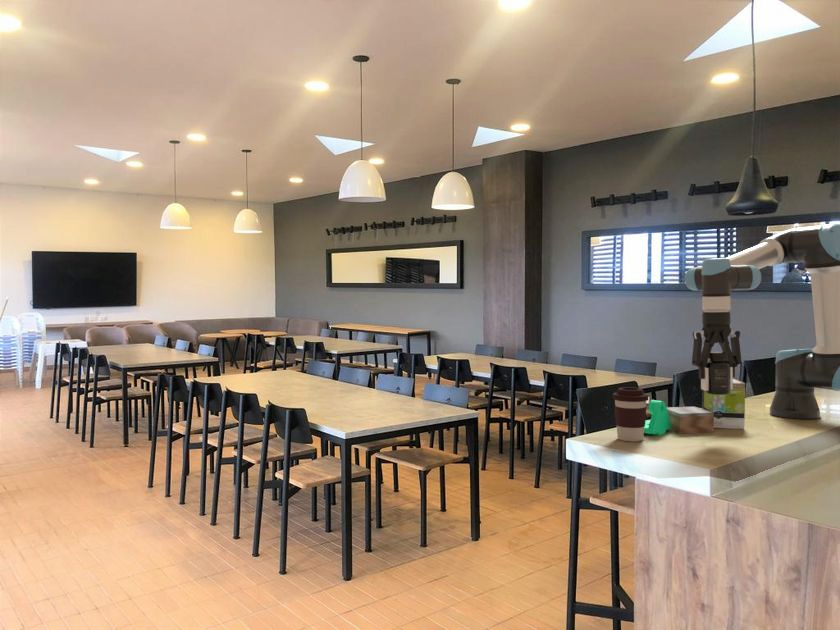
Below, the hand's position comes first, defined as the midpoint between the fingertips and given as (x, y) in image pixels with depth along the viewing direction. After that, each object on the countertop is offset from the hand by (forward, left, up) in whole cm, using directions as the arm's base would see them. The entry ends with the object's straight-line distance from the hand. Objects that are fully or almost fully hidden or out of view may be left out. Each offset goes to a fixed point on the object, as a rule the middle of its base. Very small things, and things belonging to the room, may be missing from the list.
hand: (716, 389), depth 190 cm
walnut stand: (+1, -14, -15) cm, 20 cm away
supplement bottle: (0, 0, -1) cm, 1 cm away
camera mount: (+15, -11, -15) cm, 24 cm away
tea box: (-14, -19, -15) cm, 28 cm away
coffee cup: (+25, -3, -15) cm, 29 cm away
